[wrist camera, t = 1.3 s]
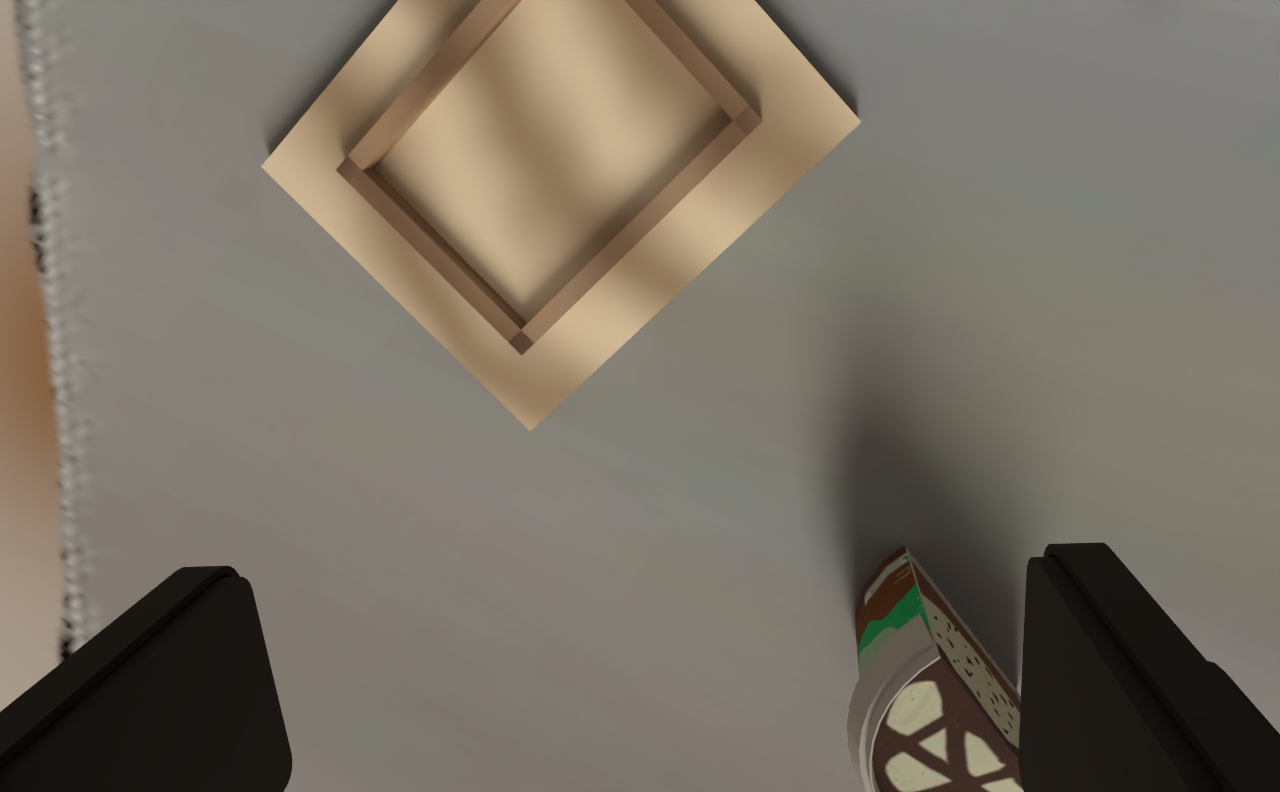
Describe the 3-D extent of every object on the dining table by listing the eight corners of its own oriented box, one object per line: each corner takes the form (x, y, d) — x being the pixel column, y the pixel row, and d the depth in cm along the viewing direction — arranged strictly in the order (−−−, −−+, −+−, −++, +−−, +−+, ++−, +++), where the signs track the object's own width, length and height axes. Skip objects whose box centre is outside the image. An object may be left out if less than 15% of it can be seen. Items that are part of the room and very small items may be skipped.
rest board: (575, -200, 33) (564, -222, 31) (858, 121, 35) (865, 122, 33) (273, 165, 38) (246, 168, 36) (535, 424, 41) (524, 440, 39)
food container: (775, 590, 42) (785, 728, 32) (885, 521, 40) (931, 645, 31) (923, 771, 44) (973, 950, 35) (1034, 712, 42) (1118, 883, 33)
